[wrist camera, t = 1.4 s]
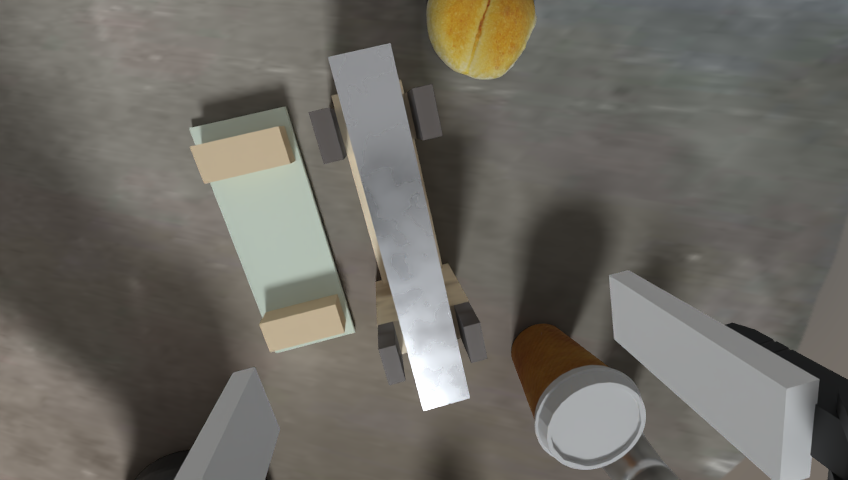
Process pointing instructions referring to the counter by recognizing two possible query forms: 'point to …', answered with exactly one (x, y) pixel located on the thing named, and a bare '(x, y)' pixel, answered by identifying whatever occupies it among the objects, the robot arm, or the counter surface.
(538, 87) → the counter surface
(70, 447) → the counter surface
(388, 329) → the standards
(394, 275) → the rail
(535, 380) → the disposable coffee cup
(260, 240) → the rest pad
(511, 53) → the bread roll
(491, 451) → the counter surface
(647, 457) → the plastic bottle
